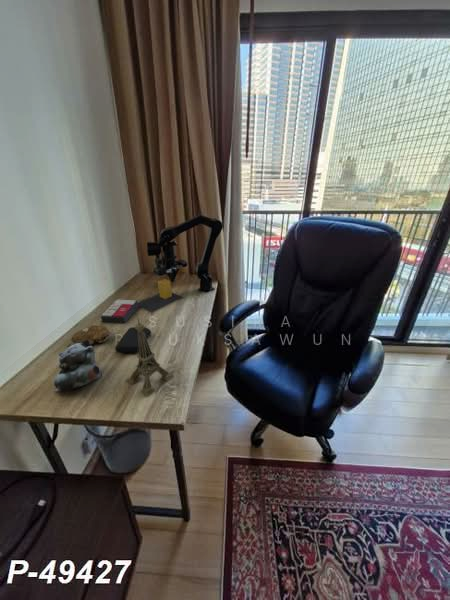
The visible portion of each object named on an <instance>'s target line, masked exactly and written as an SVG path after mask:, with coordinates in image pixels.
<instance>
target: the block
mask: <svg viewBox="0 0 450 600" xmlns="http://www.w3.org/2000/svg"><path fill="white" fill-rule="evenodd" d="M157 287H158V294H160V297H161V298H164V299H167V298H169V297H171V296H172V293H173V292H172V286H171V280H170V279H166V278H163V279H160V280H158V281H157Z"/></svg>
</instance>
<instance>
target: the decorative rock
mask: <svg viewBox="0 0 450 600" xmlns="http://www.w3.org/2000/svg"><path fill="white" fill-rule="evenodd" d="M110 336H111V333H110V330H109V329H108V328H107V326H105V325H97V324H91V325H89V326H87V327H84V328H82V329H80V330H78V331H76V332H75V333H74V334H73V335H72V336H71V337H70V341H71V342H72V344H73V343H74V344H77V343H83V342H84V341H85V340H88V341H89V343H90V345H93V344H94V343H100V344H101V343H105V342H107V341H108V340H109V337H110Z"/></svg>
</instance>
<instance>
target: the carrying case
mask: <svg viewBox="0 0 450 600" xmlns="http://www.w3.org/2000/svg"><path fill="white" fill-rule="evenodd" d="M135 327H136V326H135ZM135 327H129V328H128V329H127V330H126V332H125V333H124V335H123V336H122V337H121V338H120V340H119V341H118V342H117V343H116V345H115V347H114V350H115V351H116V352H118V353H129V354H130V353H131V354H135V353H139V343H138V330H137V329H135ZM143 331H144V333H145V336H146V339H147V340H148V338H149V337H152V330H151V329H150V328H148V327H145V328H143Z"/></svg>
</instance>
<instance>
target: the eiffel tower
mask: <svg viewBox="0 0 450 600" xmlns="http://www.w3.org/2000/svg"><path fill="white" fill-rule="evenodd" d="M136 317H137V324H135V325H134V326H135V329H137V330H138V343H139V351H138V354H136V355H137V356H136V358H137V359H138V363H137V365H135V366H136V369H135V370H134V371H133V372H132V374H131V375H130V377H129V378H128V379H127V382H129V383H130V384H132V385H133V384H135V383H136V382H138V381H139V380H140V376H141V375H142V376H143V377H144V378H145V379H144V383H143V386H142V389H141V393H142V394H143V395H144V396H145V397H148V396H150V395H151V394H152V393H154V392H155V390H154V388H153V387H152V382H151V379H150V378H151V376H152V375H153V374H154V373H156V372H157V373H159V374H160V375H161V378H162V379H163V380H165V381H166V382H168V381H170V380H171V379H172V378H174V377H175V375H174V374H172V373H171V372H169V371H167V370H166V369H165V368H163V367H162V366H161V364H160V363H158V362H157V361H156V358H155V357H154V356H155V355H156V354H155V353H154V352H153V351H152V350H151V347H150V345H149V342H148V338H147V339H146V336H145V333H144V331H143V328H146V326H144V324H143V323H142V322H140V319H139V317H138V315H136Z"/></svg>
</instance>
